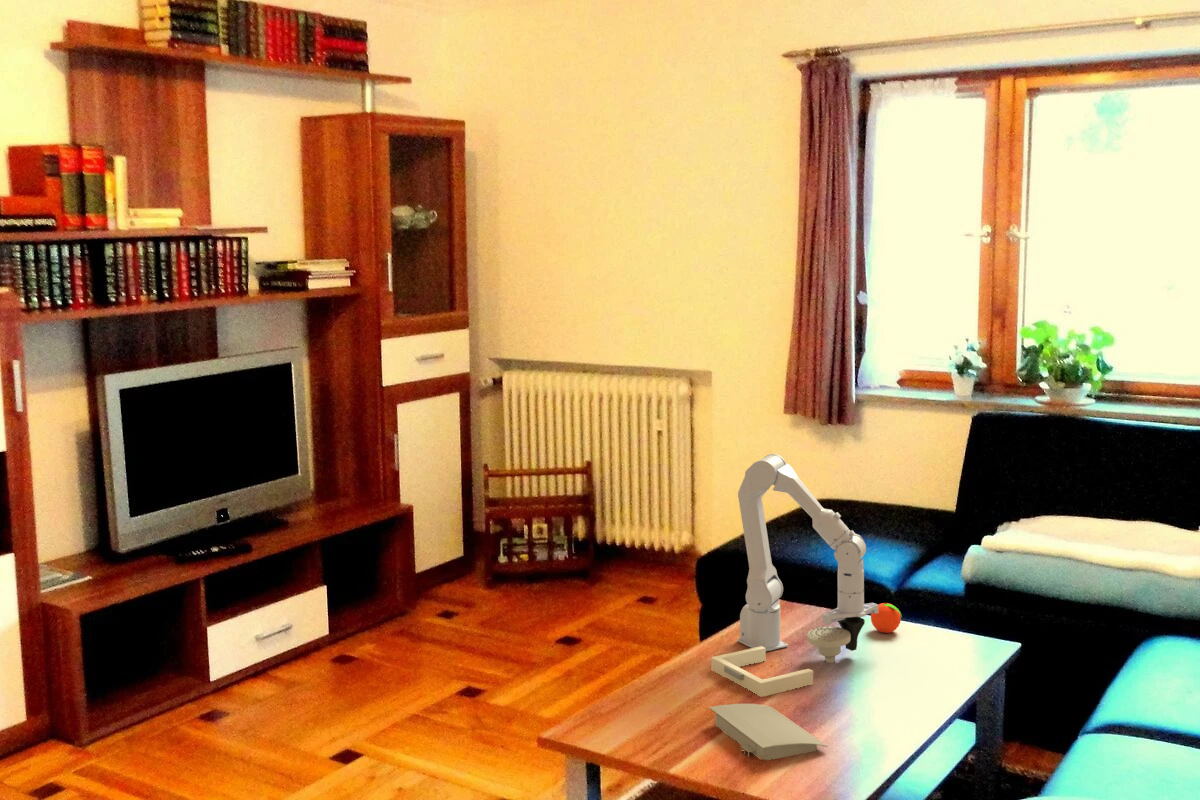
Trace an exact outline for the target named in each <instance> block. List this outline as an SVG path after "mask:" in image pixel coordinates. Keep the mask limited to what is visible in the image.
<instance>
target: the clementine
mask: <svg viewBox="0 0 1200 800" xmlns="http://www.w3.org/2000/svg"><path fill="white" fill-rule="evenodd" d="M902 618H903V615H902V613H901V611H900V610H899V608H897V607H896V606H895V605H893V604H891V603H888V602H883V603H879V604H878V613H876V614H874V613H871V614H870V622H871V624H872V626H873V627H874V629H876V631H879V632H880V633H884V634H888V633H889V634H890V633H892V632H894V631H896V630H897V628H899V627H900V624H901V620H902Z"/></svg>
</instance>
